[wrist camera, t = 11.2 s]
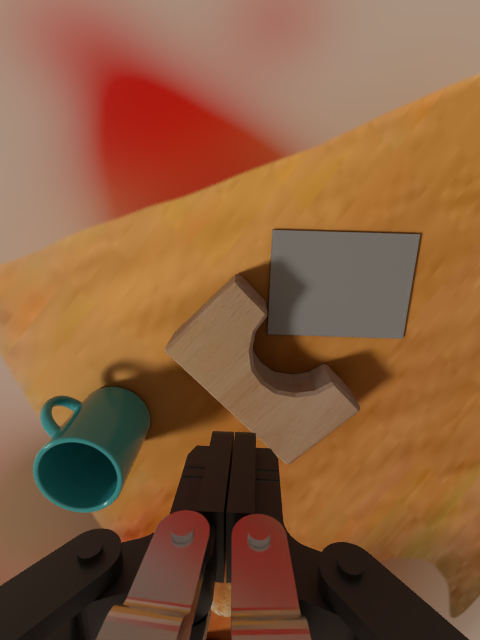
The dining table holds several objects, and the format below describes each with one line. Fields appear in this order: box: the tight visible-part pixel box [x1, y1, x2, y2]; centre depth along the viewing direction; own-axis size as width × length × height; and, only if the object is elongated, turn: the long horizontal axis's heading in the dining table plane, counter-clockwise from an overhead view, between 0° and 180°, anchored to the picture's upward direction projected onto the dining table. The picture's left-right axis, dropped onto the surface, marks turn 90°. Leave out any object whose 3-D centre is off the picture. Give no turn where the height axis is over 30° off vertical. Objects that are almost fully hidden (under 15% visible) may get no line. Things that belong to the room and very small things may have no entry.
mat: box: [267, 230, 420, 339], centre depth 40 cm, size 16×12×1 cm
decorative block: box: [165, 274, 360, 464], centre depth 41 cm, size 11×6×20 cm
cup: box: [33, 387, 150, 512], centre depth 40 cm, size 9×12×11 cm
